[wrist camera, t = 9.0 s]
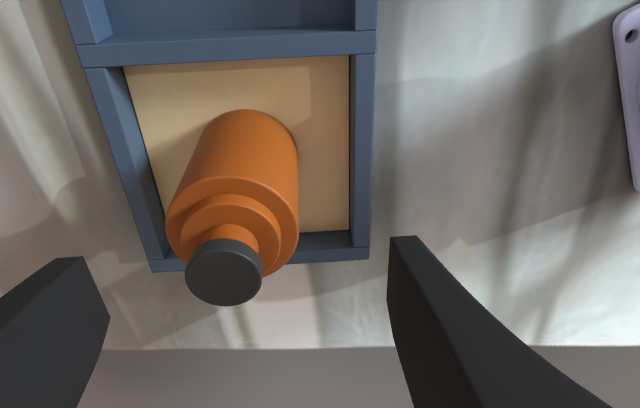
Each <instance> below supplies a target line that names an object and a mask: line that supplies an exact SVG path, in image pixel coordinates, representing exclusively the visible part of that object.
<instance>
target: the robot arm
mask: <svg viewBox="0 0 640 408" xmlns="http://www.w3.org/2000/svg"><path fill="white" fill-rule="evenodd" d="M631 30H632V35H631V37H630V38H629V39H627V40H625V38H626V35H627V33H628V32H630V31H631ZM612 31H613V38H614V46H615V53H616V61H617V68H618V75H619V83H620V90H621V98H622V105H623V112H624V120H625V127H626V135H627V142H628V149H629V157H630V164H631V172H632V179H633V186H634V188H635V189H636V190H637V191H638V192H640V3H639V4H637V5H635V6H633V7H631V8H629V9H627V10H625V11H623V12H622V13H620V14H619V15H618V16H617V17H616V19H615V20H614V22H613V26H612ZM386 300H387V305H388V311H389V317H390V323H391V328H392V333H393V338H394V342H395V345H396V349H397V352H398V355H399V359H400V362H401V365H402V369H403V372H404V375H405V379H406V382H407V385H408V389H409V392H410V395H411V398H412V402H413V405H414V408H612V407H611V406H610V405H608V404H607V403H605V402H603V401H602V400H601V399H599V398H598V397H596V396H595V395H593V394H592V393H591V392H589V391H588V390H586V389H585V388H583V387H582V386H580V385H579V384H577V383H576V382H574V381H573V380H572V379H570V378H569V377H567V376H566V375H565V374H563V373H562V372H560V371H559V370H558V369H557V368H555V367H554V366H552V365H551V364H550V363H549V362H547V361H546V360H545V359H544V358H542V357H541V356H540V355H538V354H537V353H536V352H535V351H534V350H532V349H531V348H530V347H528V346H527V345H526V344H525V343H524V342H522V341H521V340H520V339H519V338H518V337H517V336H515V335H514V334H513V333H512V332H511V331H510V330H508V329H507V328H506V327H505V326H504V325H503V324H502V323H501V322H500V321H498V320H497V319H496V318H495V317H494V316H493V315H492V314H491V313H490V312H489V311H488V310H487V309H485V308H484V307H483V306H482V305H481V304H480V303H479V302H478V301H477V300H476V299H475V298H474V297H473V296H472V295H471V294H470V293H469V292H468V291H467V290H466V289H465V288H464V287H463V286H462V285H461V284H460V283H459V282H458V281H457V280H456V279H455V278H454V276H453V275H452V274H451V273H450V272H449V271H448V270H447V269H446V268H445V267H444V266H443V265H442V263H441V262H440V261H439V260H438V259H437V258H436V257H435V256H434V255H433V253H432V252H431V251H430V250H429V249H428V248H427V247H426V245H425V244H424V243H423V242H422V241H421V240H420V239H419V238H418V237H417V236H416V235H415V236H399V237H390V248H389V265H388V282H387V298H386ZM109 321H110V315H109V313H108V311H107V309H106V306H105V304H104V302H103V300H102V298H101V295H100V293H99V291H98V289H97V287H96V284H95V282H94V280H93V278H92V276H91V273H90V271H89V269H88V267H87V264H86V262H85V260H84V258H83V256H82V257H66V258H56V259H55V260H53V261H51V262H50V263H48V264H47V265H45V266H44V267H42V268H41V269H39V270H38V271H37V272H35V273H34V274H32V275H31V276H30V277H28V278H27V279H25V280H24V281H23V282H21V283H20V284H19V285H17V286H16V287H15V288H13V289H12V290H11V291H9V292H8V293H7V294H5V295H4V296H2V297H1V298H0V408H76V407H77V405H78V403H79V401H80V398H81V396H82V394H83V392H84V389H85V387H86V385H87V383H88V381H89V378H90V376H91V374H92V372H93V369H94V367H95V365H96V363H97V360H98V358H99V355H100V351H101V348H102V345H103V342H104V339H105V335H106V332H107V328H108V324H109Z"/></svg>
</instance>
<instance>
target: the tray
mask: <svg viewBox="0 0 640 408" xmlns="http://www.w3.org/2000/svg"><path fill="white" fill-rule="evenodd" d="M60 2H61V5H62V8H63V11H64V14H65V17H66V20H67V23H68V26H69V29H70V32H71V35H72V38H73V41H74V44H75V45H76V46H75V47H76V50H77V53H78V56H79V59H80V62H81V65H82V67H83V68H85V69H84V72H85V75H86V78H87V81H88V84H89V87H90V90H91V93H92V96H93V99H94V102H95V105H96V108H97V111H98V114H99V117H100V120H101V123H102V126H103V129H104V131H105V134H106V137H107V140H108V143H109V146H110V149H111V152H112V155H113V158H114V161H115V164H116V167H117V170H118V173H119V176H120V179H121V182H122V185H123V188H124V191H125V194H126V197H127V199H128V202H129V205H130V208H131V211H132V214H133V217H134V220H135V223H136V226H137V229H138V232H139V235H140V238H141V241H142V244H143V247H144V250H145V253H146V256H147V259H148V262H149V265H150V268H151V271H152V272H153V273H154V272H170V271H185V270H186V267H187V265H186V264H185V263H184V262H183V261H182V260H180V258H179V257H178V256H177V255H176V254H175V252H174V251H173V249H172V248H171V246H170V243H169V241H168V238H167V235H166V229H165V218H166V214H167V210H168V208H169V205H170V203H171V201H172V199H173V196H174V194H175V192H176V190H177V188H178V185H179V183H180V181H181V179H182V177H183V174H184V172H185V170H186V168H187V165H188V163H189V161H190V159H191V157H192V154H193V152H194V150H195V148H196V146H197V143H198V141H199V139H200V137H201V135H202V133H203V131H204V129H205V128H206V127H207V125H208V124H209V123H210V122H211V121H212V120H214V119H215V118H217V117H218V116H220V115H222V114H224V113H226V112H230V111H234V110H241V109H248V110H256V111H260V112H263V113H266V114H268V115H270V116H272V117H274V118H275V119H277V120H278V121H280V122H281V123H282V124H283V125H284V126H285V127H286V128H287V129H288V130H289V132H290V133H291V135H292V137H293V138H294V141H295V143H296V146H297V151H298V194H299V239H298V243H297V246H296V248H295V251H294V253H293V254H292V256H291V257H290V259H289V260H288V261H287V262H286V263H285V264H300V263H316V262H332V261H348V260H365V259H369V250H370V247H369V245H370V219H371V190H372V160H373V131H374V102H375V72H376V54H375V53H376V46H377V16H378V0H60Z"/></svg>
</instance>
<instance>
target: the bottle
mask: <svg viewBox="0 0 640 408" xmlns="http://www.w3.org/2000/svg"><path fill="white" fill-rule="evenodd" d="M165 229H166V235H167V238H168V241H169V243H170V246H171V248H172V249H173V251H174V252H175V254H176V255H177V256H178V257H179V258H180V260H182V261H183V262H184V263H185V264H186V265H187V267H186V270H185V280H186V284H187V286H188V288H189V289H190V291H191V292H192V293H193V294H194V295H195V296H196V297H198V298H199V299H201V300H203V301H204V302H207V303H210V304H213V305H217V306H234V305H239V304H242V303H245V302H247V301H248V300H250V299H251V298H253V297H254V296H255V295H256V294H257V292H258V291H259V289H260V287H261V283H262V278H263V277H265V276H268V275H270V274H272V273H274V272H275V271H277V270H278V269H280V268H281V267H282V266H283V265H284V264H285V263H286V262H287V261H288V260H289V259H290V257H291V256H292V254H293V253H294V251H295V248H296V246H297V243H298V239H299V194H298V151H297V146H296V143H295V141H294V138H293V137H292V135H291V133H290V132H289V130H288V129H287V128H286V127H285V126H284V125H283V124H282V123H281V122H280V121H278V120H277V119H275V118H274V117H272V116H270V115H268V114H266V113H263V112H260V111H256V110H248V109H241V110H234V111H230V112H226V113H224V114H222V115H220V116H218V117H217V118H215V119H214V120H212V121H211V122H210V123H209V124H208V125H207V127H206V128H205V129H204V131H203V133H202V135H201V137H200V139H199V141H198V143H197V146H196V148H195V150H194V152H193V154H192V157H191V159H190V161H189V163H188V165H187V168H186V170H185V172H184V174H183V177H182V179H181V181H180V183H179V185H178V188H177V190H176V192H175V194H174V196H173V199H172V201H171V203H170V205H169V208H168V210H167V214H166V218H165Z"/></svg>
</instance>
